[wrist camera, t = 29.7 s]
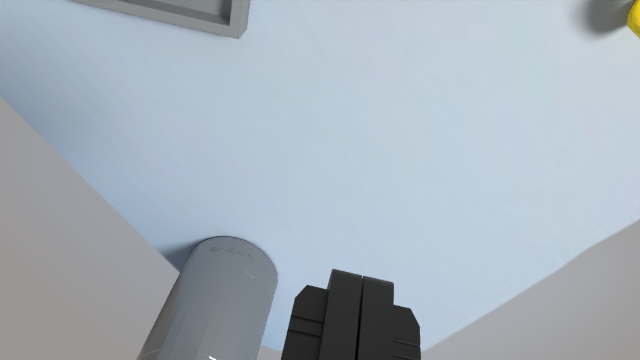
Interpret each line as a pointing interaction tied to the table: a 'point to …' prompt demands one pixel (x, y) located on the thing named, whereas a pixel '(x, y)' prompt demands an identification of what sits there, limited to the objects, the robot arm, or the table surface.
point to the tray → (187, 13)
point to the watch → (634, 18)
